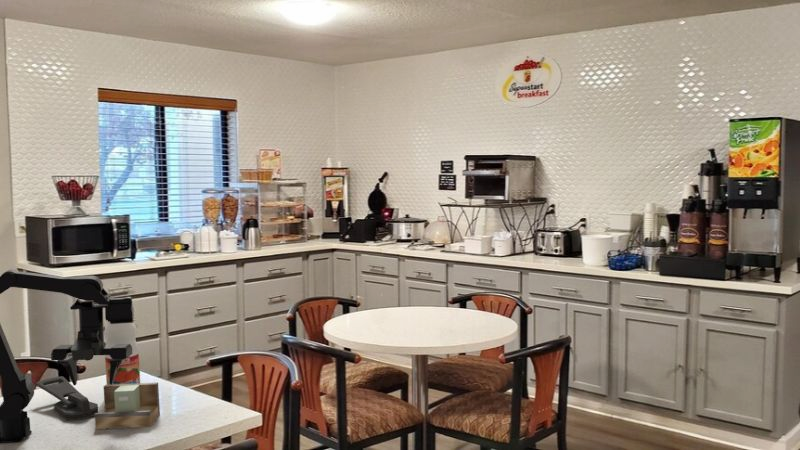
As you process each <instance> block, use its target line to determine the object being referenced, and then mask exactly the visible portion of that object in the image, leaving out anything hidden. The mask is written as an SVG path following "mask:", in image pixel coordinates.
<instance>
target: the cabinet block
mask: <svg viewBox="0 0 800 450" xmlns="http://www.w3.org/2000/svg"><path fill="white" fill-rule="evenodd" d="M114 398H115V412H130V411H137V410H138V409H139V408H140V407H141V406H140V388H139V385H127V386H120V387H119V388H117V389H116V390H115V391H114Z"/></svg>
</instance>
